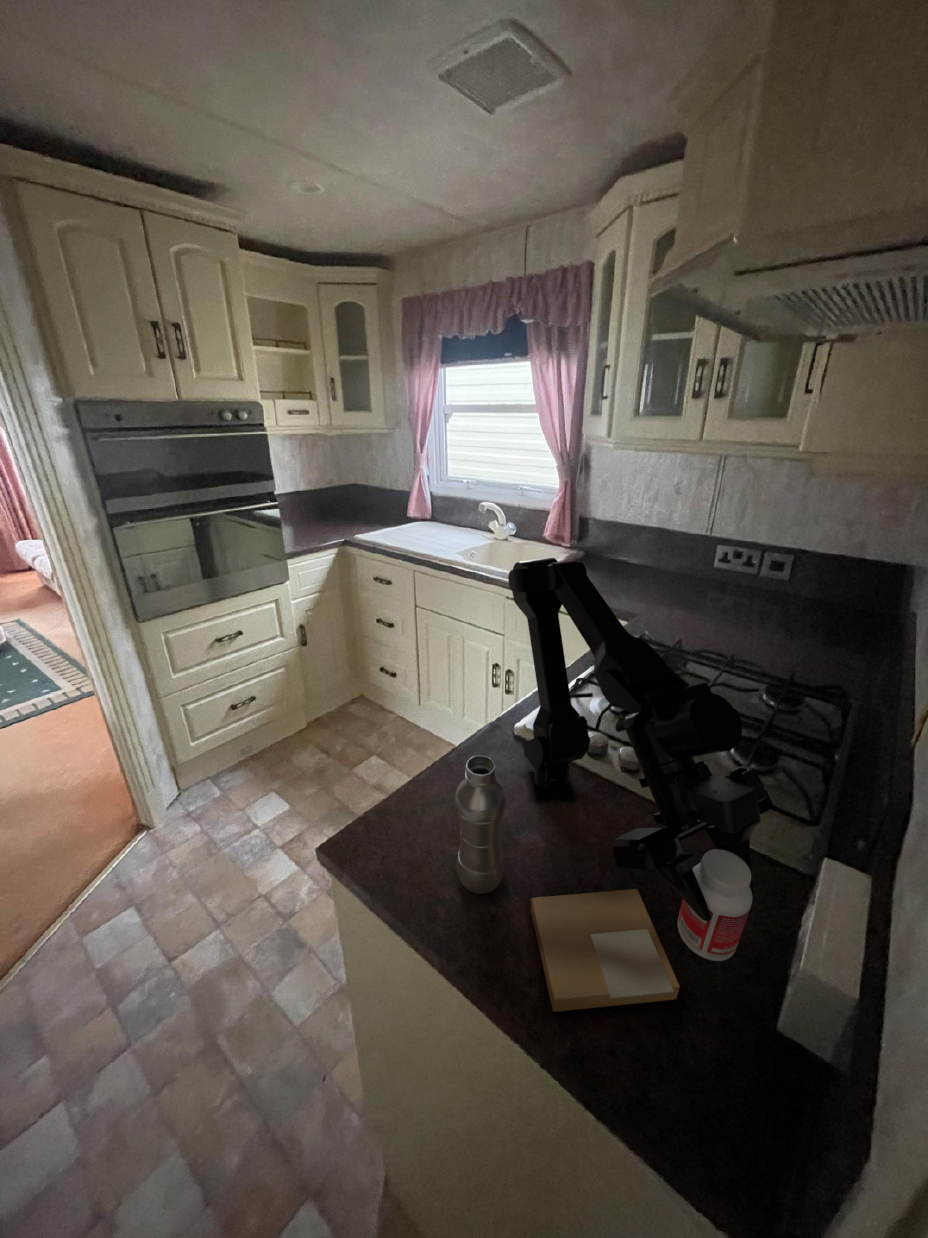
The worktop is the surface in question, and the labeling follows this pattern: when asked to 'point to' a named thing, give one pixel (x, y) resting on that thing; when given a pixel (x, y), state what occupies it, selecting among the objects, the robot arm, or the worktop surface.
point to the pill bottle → (718, 906)
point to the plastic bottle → (480, 826)
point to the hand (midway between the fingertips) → (728, 907)
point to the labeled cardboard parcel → (601, 951)
